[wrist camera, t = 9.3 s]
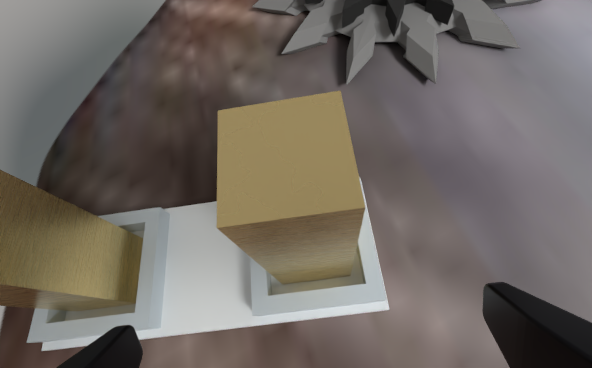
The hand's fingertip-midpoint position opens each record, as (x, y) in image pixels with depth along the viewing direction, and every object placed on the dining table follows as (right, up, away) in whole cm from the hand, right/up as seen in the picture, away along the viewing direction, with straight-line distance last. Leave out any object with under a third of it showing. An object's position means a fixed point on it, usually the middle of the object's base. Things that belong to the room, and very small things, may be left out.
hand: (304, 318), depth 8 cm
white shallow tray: (-6, -2, +15) cm, 16 cm away
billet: (+1, -1, +14) cm, 14 cm away
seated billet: (-13, -3, +15) cm, 20 cm away
